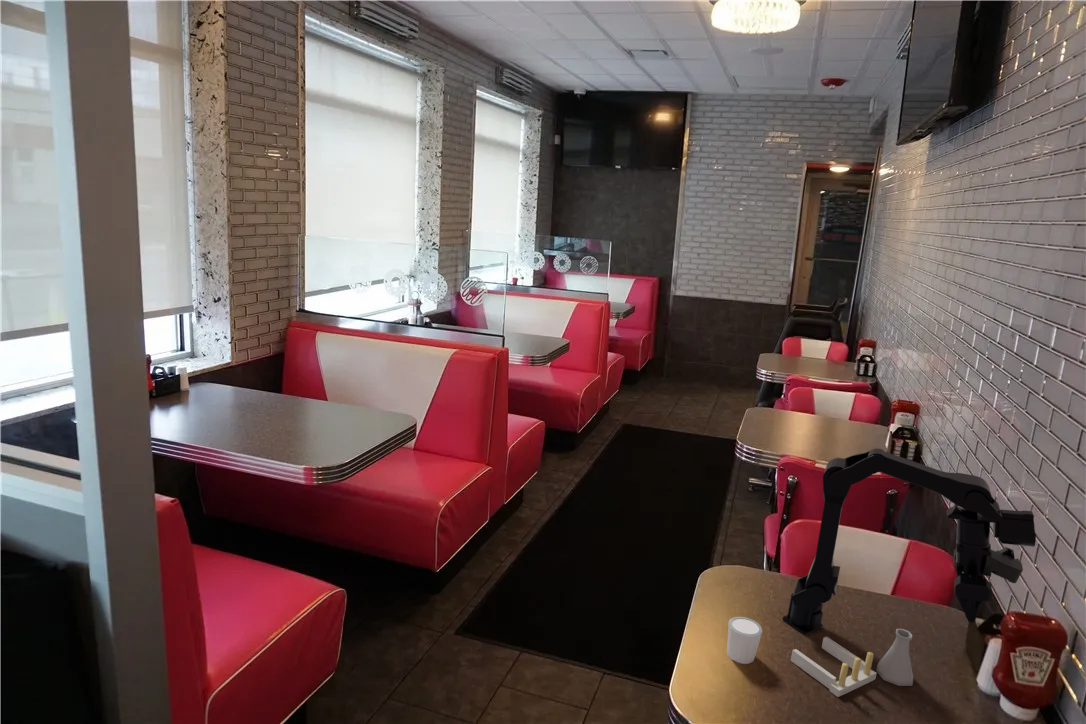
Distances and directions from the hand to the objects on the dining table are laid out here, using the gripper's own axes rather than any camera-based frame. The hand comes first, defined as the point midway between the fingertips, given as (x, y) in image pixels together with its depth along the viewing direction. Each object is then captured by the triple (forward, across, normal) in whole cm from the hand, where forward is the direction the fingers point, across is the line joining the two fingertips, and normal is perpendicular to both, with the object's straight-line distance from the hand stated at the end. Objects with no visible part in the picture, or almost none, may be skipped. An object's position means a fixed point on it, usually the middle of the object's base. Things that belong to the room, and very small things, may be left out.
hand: (970, 610), depth 149 cm
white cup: (+8, -21, +42) cm, 48 cm away
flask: (+13, -9, +14) cm, 21 cm away
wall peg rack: (+10, -15, +25) cm, 31 cm away
